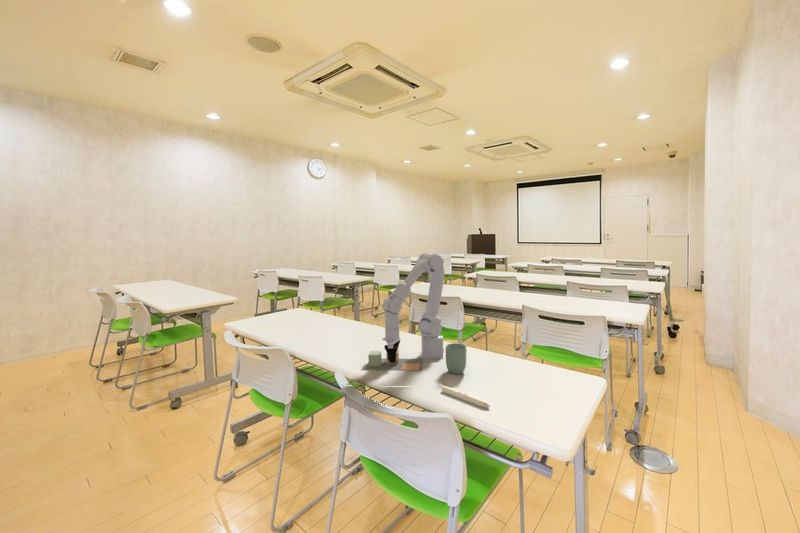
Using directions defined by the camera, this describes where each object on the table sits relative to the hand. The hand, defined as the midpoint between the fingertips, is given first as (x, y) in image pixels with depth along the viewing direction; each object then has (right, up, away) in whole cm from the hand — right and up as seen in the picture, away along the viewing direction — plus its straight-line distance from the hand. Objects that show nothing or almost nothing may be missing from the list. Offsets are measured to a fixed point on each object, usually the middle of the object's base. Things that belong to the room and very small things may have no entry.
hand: (392, 360), depth 146 cm
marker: (+24, -4, -32) cm, 40 cm away
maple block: (0, -1, 0) cm, 1 cm away
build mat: (+1, -2, -2) cm, 3 cm away
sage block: (-7, -1, -1) cm, 7 cm away
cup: (+24, -2, -10) cm, 26 cm away
